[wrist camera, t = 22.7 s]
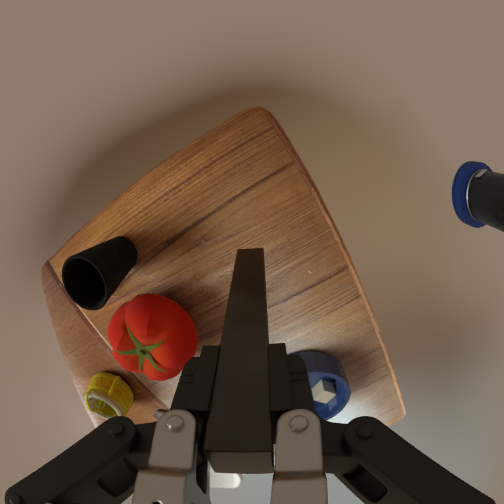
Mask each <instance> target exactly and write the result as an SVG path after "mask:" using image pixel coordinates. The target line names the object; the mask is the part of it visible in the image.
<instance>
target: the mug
mask: <svg viewBox="0 0 504 504" xmlns="http://www.w3.org/2000/svg"><path fill="white" fill-rule="evenodd" d="M84 399H85V402H86V405H87V408H88V409H89V410H90V411H92V412H94V413H95V414H97V415H98V416H100V417H101V418H103V419H106V420H108V419H109V418H111V417H115V416H124V415H126V413H127V412H128V411H129V409H130V407H131V406H132V404H133V400H134V399H133V392H132V390H131V388H130V387H129V386H128V384H127V383H125V382H124V381H123V380H122V379H121V377H120V376H115V375H113V374H111V373H106V372H100V373H97V374H95V375H94V376H93V378H92V379H91V382H90V384H89V386H88V389H87V392H86V393H85V395H84Z"/></svg>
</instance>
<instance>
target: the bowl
mask: <svg viewBox="0 0 504 504" xmlns="http://www.w3.org/2000/svg"><path fill="white" fill-rule="evenodd" d="M242 480H243V475H242V474H234V473H216V472H214V471H213V469H212V467H211V465H210V487H216V488H236V487H238V486H239V485H240V484H241V482H242Z"/></svg>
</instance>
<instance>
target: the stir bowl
mask: <svg viewBox="0 0 504 504" xmlns="http://www.w3.org/2000/svg"><path fill="white" fill-rule="evenodd" d="M294 354H299V355H300V356H301V358H302V359H303V360H304V361H305V364H306V369H307V374H308V380H309V384H310V389H311V394H312V388H313V387H314V386H315V385H316V384H317V383H318V382H319V381H320V380H321V379H323V380H325V381H328V382H331V383H333V384H334V388H335V391H336V395H335V396H334V397H333V398H332V399H331V400H330V401H329V402H327V403H326V404H325V403H322V402H319V401H315V400H314V399H313V394H312V400H313V405H314V409H315V411H316V413H317V414H318V416H320V417H321V418H322V419H324V420H328V419H330V418H332V417H334V416H335V415H337V414H338V413H339V412H340V411H342V410H343V408H344V407H345V406H346V404H347V403H348V401H349V398H350V394H351V391H350V387H349V383H348V380H347V378H346V375H345V372H344V369H343V366H342V365H341V364H340V362H339V361H338V360H337V359H336V358H334V357H332V356H330V355H328V354H325V353H320V352H313V351H310V352H298V353H294Z"/></svg>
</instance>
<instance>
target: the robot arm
mask: <svg viewBox="0 0 504 504" xmlns="http://www.w3.org/2000/svg"><path fill="white" fill-rule="evenodd" d="M465 205H466V209H467V211H468V214H469V215H470V217H471V218H472V219H474V220H476V221H478V222H482V223H485V224H487V225H489V226H491V227H494V228H496V229H499V230H501V231H503V232H504V174H500V173H496V172H490V171H487V170H486V169H478V170H475V171H474V172H473V173H472V174H471V175H470V177H469V179H468V181H467V184H466V188H465ZM219 351H220V345H218V346H203V347H202V351H201V355H200V357H191V358H190V359H189V360H188V361H187V362H186V363H185V365H184V367H183V370H182V373H181V376H180V379H179V383H178V386H177V389H176V392H175V395H174V398H173V401H172V405H171V408H170V410H169V411H167V412H165V413H163V414H162V415H161V416H160V417H159V418H158V420H157V421H156V422H153V423H146V424H137V425H135V424H134V423H133V421H132V420H131V419H129V418H127V417H124V416H115V417H111V418H109V419H108V420H106V421H105V422H104V423H102V424H101V425H100V426H98V427H97V428H96V429H94V430H93V431H92V432H90V433H89V434H88V435H86V436H85V437H83V438H82V439H81V440H79V441H78V442H76V443H75V444H74V445H72V446H71V447H69V448H68V449H67V450H65V451H64V452H62V453H61V454H60V455H58V456H57V457H55V458H54V459H52V460H51V461H49V462H48V463H47V464H45V465H44V466H42V467H41V468H39V469H38V470H36V471H35V472H33V473H32V474H30V475H29V476H27V477H25V478H24V479H22V480H21V481H19V482H18V483H16V484H15V485H13V486H12V487H10V488H9V489H8V490H7V491H6V493H5V504H121V503H122V502H123V501H125V500H126V499H127V498H128V497H129V496H131V495H132V494H133V499H132V504H211V502H210V496H209V487H210V463H209V461H208V459H207V457H206V455H205V453H204V451H203V442H204V436H205V430H206V424H207V418H208V415H209V411H210V405H211V399H212V393H213V387H214V381H215V375H216V369H217V363H218V357H219ZM268 361H269V387H270V415H272V422H273V444H276V452H275V466H274V475H273V481H272V491H271V502H270V504H328V495H327V478H326V474H325V473H332V474H334V475H335V476H336V477H337V478H338V479H339V480H340V481H341V482H342V483H343V484H344V485H345V486H347V488H348V489H350V490H351V491H352V492H353V493H354V494H355V495H356V496H357V497H358V498H359V499H360V500H361V501H362V502H364V503H365V504H496V503H495V501H494V500H493V499H491V498H490V497H488V496H486V495H485V494H483V493H481V492H480V491H478V490H477V489H475V488H474V487H472V486H470V485H469V484H467V483H466V482H464V481H463V480H461V479H460V478H458V477H457V476H455V475H454V474H452V473H450V472H449V471H448V470H446V469H445V468H443V467H442V466H440V465H439V464H437V463H436V462H435V461H433V460H432V459H430V458H429V457H428V456H426V455H425V454H423V453H422V452H421V451H419V450H418V449H416V448H415V447H414V446H412V445H411V444H410V443H408V442H407V441H406V440H404V439H403V438H402V437H400V436H399V435H398V434H396V433H395V432H394V431H392V430H391V429H389V428H388V427H387V426H386V425H384V424H383V423H382V422H381V421H379V420H378V419H376V418H373V417H369V416H362V417H357V418H355V419H353V420H351V421H350V422H349V423H348V424H341V423H333V422H329V421H326V420H324V419H322V418H321V417H320V416H318V414H317V413H316V411H315V409H314V405H313V400H312V394H311V389H310V384H309V380H308V374H307V369H306V364H305V361H304V360H303V359H302V358H301V356H300V355H299V354H291V355H287V354H286V346H285V343H277V344H268Z"/></svg>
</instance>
